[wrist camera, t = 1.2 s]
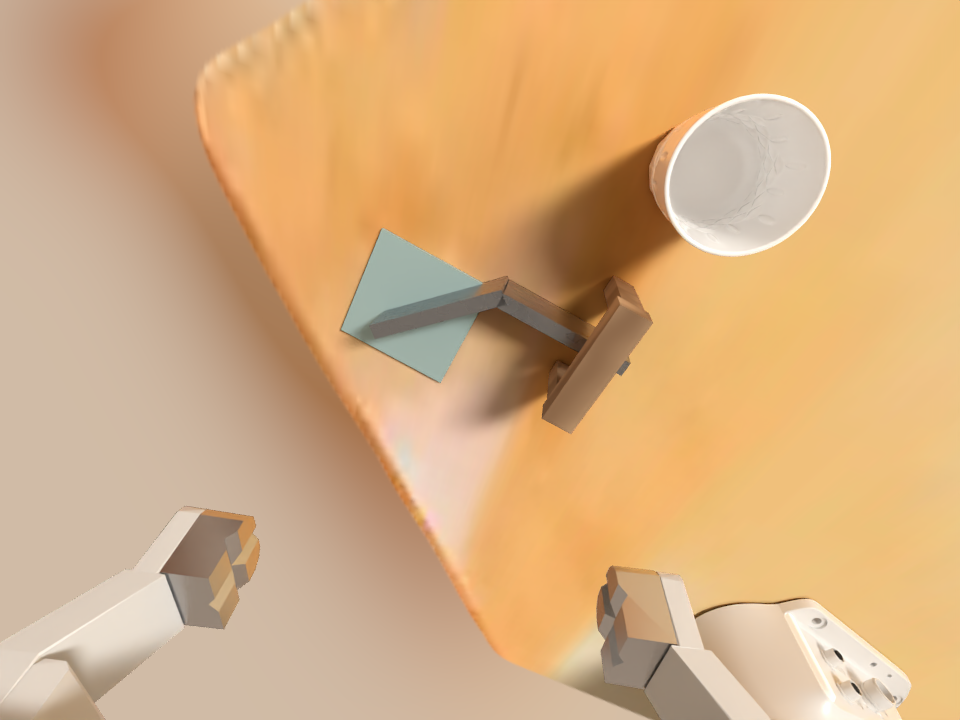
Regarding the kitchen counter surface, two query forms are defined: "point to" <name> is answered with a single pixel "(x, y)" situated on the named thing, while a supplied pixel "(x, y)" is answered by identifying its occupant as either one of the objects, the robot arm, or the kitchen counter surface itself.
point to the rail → (484, 298)
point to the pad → (404, 280)
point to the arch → (596, 357)
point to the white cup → (742, 174)
